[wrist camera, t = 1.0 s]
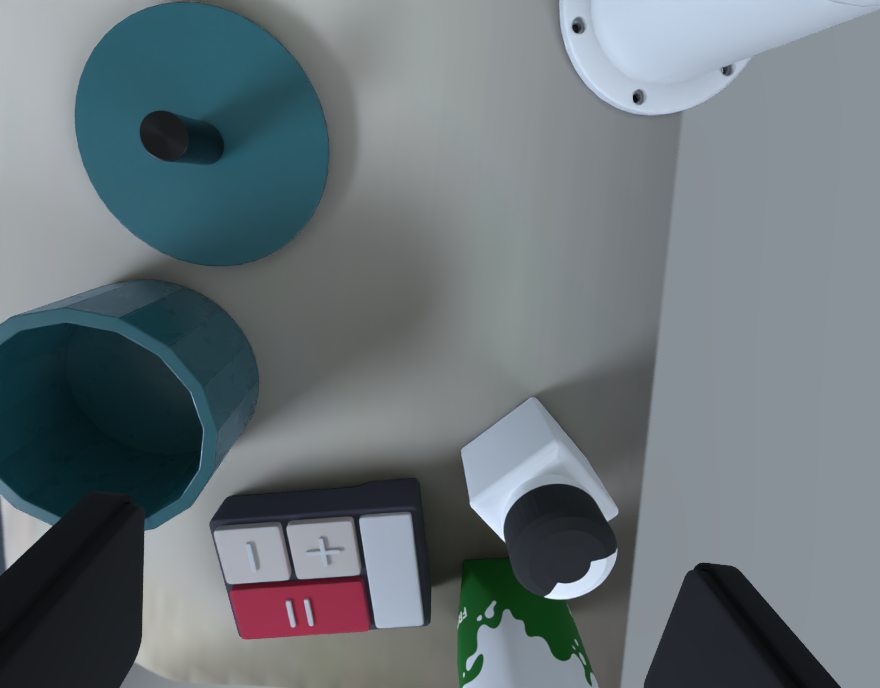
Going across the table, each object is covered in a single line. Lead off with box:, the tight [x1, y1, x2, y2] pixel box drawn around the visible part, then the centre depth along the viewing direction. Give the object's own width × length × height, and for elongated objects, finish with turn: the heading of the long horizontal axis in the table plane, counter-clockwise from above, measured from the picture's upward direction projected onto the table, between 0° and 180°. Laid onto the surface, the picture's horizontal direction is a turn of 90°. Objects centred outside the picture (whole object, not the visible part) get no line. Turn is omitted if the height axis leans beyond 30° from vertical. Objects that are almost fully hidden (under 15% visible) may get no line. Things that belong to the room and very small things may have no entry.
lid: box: [75, 2, 329, 266], centre depth 28 cm, size 15×15×6 cm
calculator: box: [210, 479, 431, 639], centre depth 39 cm, size 11×4×15 cm
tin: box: [0, 279, 259, 531], centre depth 32 cm, size 14×14×8 cm
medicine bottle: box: [461, 397, 618, 599], centre depth 34 cm, size 7×7×12 cm
